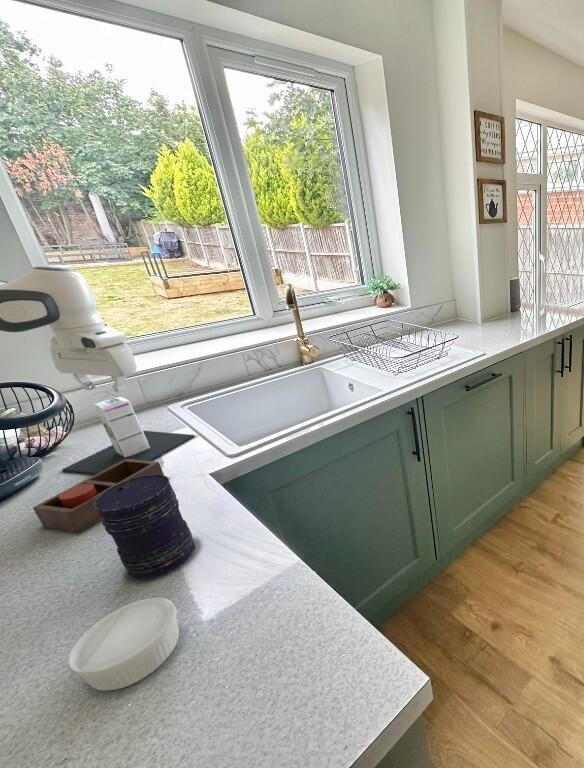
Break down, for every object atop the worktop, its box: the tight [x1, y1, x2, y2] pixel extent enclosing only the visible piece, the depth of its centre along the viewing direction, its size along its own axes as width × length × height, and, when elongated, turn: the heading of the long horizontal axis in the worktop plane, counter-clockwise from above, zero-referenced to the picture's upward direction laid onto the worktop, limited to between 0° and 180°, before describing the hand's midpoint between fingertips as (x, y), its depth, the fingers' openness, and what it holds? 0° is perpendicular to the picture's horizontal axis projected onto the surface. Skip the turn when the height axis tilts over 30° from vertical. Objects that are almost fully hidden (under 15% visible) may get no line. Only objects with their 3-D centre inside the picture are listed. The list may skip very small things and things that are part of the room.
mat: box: [61, 430, 195, 476], centre depth 110 cm, size 18×20×1 cm
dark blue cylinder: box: [94, 475, 196, 581], centre depth 72 cm, size 10×10×15 cm
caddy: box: [32, 459, 165, 534], centre depth 90 cm, size 10×18×5 cm, turn 169°
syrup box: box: [93, 396, 150, 457], centre depth 107 cm, size 6×6×14 cm
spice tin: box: [59, 484, 98, 509], centre depth 86 cm, size 5×5×6 cm
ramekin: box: [66, 597, 180, 692], centre depth 57 cm, size 11×11×5 cm
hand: (105, 390), depth 103 cm, fingers open, 8 cm apart
